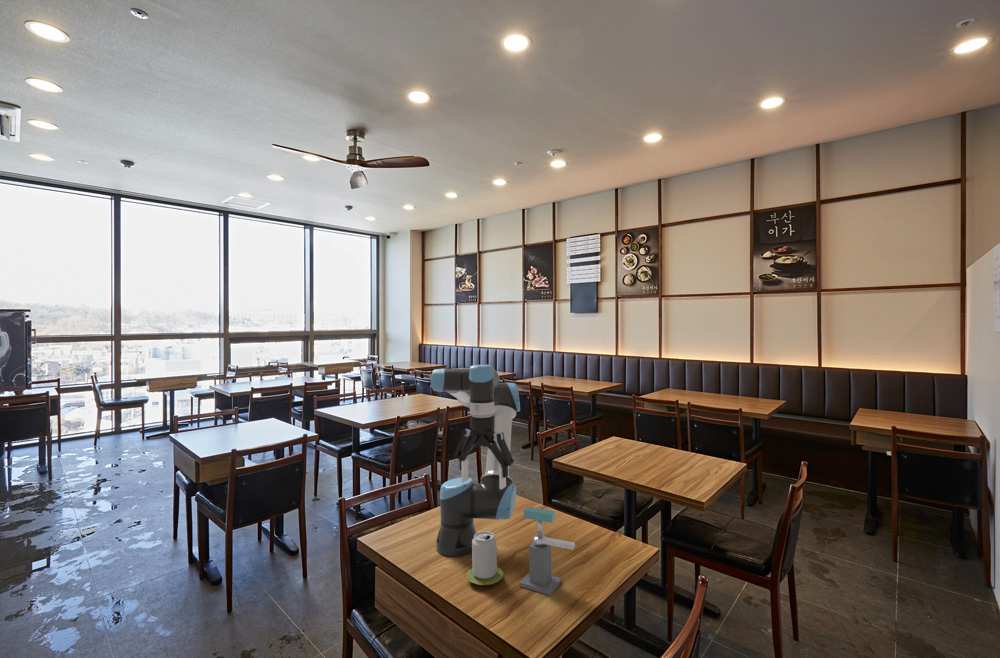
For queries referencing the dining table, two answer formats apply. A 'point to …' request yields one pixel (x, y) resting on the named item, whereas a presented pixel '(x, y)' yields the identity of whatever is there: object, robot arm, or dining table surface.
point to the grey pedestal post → (540, 571)
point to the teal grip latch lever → (540, 538)
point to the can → (484, 555)
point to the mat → (492, 580)
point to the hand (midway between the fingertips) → (483, 484)
